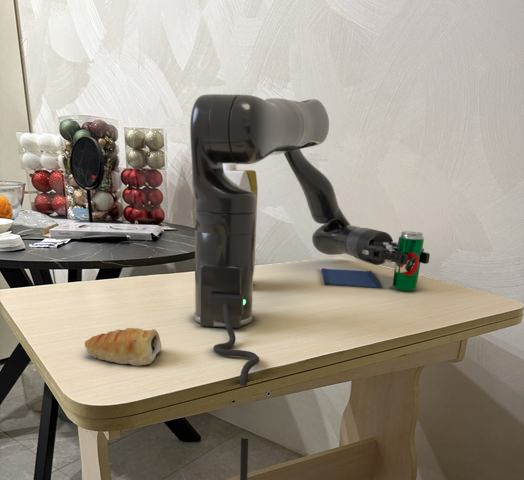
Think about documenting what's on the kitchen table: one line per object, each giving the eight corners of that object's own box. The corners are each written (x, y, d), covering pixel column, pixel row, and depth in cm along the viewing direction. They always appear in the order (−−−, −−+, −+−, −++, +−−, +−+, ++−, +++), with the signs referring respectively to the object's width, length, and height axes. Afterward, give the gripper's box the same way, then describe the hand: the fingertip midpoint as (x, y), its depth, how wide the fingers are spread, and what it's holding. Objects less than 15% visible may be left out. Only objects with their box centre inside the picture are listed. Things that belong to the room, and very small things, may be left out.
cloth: (380, 288, 112) (381, 285, 112) (324, 284, 112) (325, 282, 112) (370, 273, 127) (371, 271, 127) (321, 270, 127) (321, 268, 127)
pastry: (77, 362, 65) (75, 333, 64) (97, 345, 71) (95, 318, 70) (151, 367, 65) (150, 338, 63) (164, 349, 71) (164, 322, 70)
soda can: (421, 291, 111) (430, 234, 107) (404, 293, 108) (412, 235, 104) (403, 285, 115) (411, 230, 111) (386, 287, 112) (394, 231, 108)
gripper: (344, 229, 117) (391, 241, 103) (395, 228, 123) (447, 240, 108) (341, 262, 120) (386, 278, 105) (391, 260, 125) (441, 275, 111)
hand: (416, 259), depth 107 cm, fingers closed on soda can, 5 cm apart
